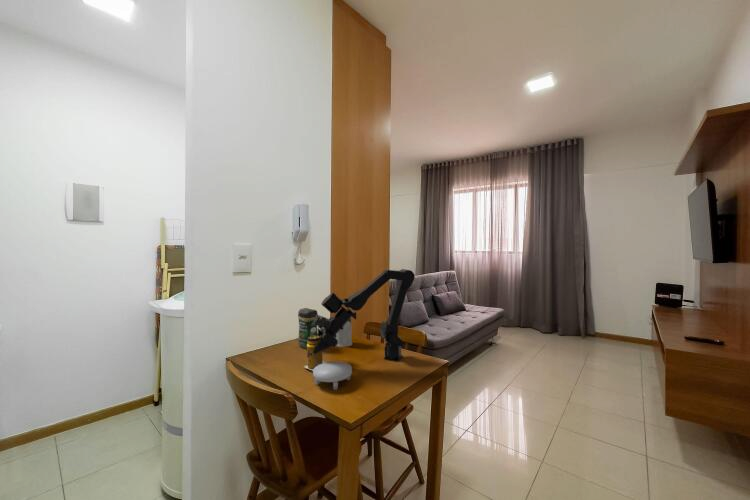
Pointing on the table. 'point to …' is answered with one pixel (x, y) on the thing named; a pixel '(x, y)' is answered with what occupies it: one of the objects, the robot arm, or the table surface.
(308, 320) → the coffee jar
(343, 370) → the round white stand
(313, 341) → the condiment
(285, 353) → the table surface
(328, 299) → the robot arm
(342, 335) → the glass holder
